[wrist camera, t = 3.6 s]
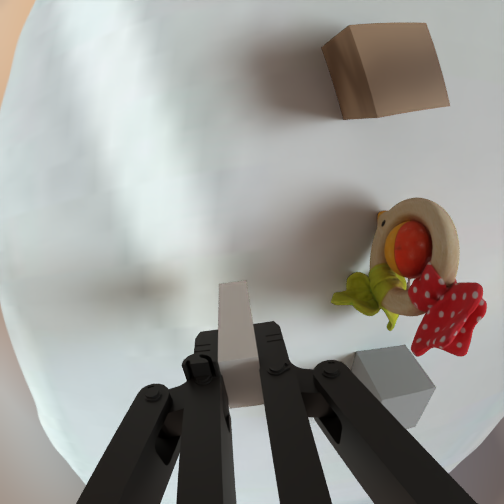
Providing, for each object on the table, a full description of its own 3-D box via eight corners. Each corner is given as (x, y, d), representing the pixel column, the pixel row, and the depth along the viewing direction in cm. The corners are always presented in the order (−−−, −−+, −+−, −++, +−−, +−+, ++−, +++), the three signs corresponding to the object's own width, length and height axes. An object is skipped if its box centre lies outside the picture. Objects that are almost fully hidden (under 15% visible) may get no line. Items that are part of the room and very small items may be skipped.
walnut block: (321, 47, 16) (348, 25, 12) (386, 40, 16) (426, 22, 12) (343, 119, 18) (377, 117, 14) (406, 107, 18) (450, 105, 13)
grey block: (356, 351, 25) (382, 400, 19) (404, 344, 25) (435, 387, 20) (345, 391, 27) (365, 439, 21) (390, 383, 27) (415, 426, 22)
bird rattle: (333, 204, 22) (320, 329, 22) (429, 159, 11) (412, 378, 11) (403, 217, 23) (392, 331, 23) (509, 191, 12) (497, 364, 12)
